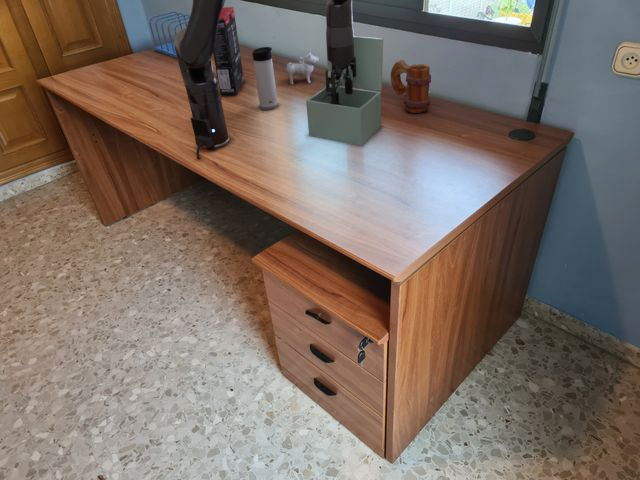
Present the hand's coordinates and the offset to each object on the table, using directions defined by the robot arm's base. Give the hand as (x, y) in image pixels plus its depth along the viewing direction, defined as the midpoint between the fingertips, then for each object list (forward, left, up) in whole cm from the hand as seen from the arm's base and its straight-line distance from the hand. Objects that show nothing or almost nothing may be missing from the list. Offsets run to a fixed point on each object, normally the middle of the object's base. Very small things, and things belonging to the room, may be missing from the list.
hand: (342, 99), depth 141 cm
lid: (+8, 0, +8) cm, 11 cm away
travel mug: (+9, +34, -11) cm, 37 cm away
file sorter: (+50, +114, -11) cm, 125 cm away
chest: (+1, 0, -11) cm, 11 cm away
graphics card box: (+19, +58, -11) cm, 62 cm away
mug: (+25, -12, -11) cm, 29 cm away
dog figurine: (+35, +36, -11) cm, 51 cm away
